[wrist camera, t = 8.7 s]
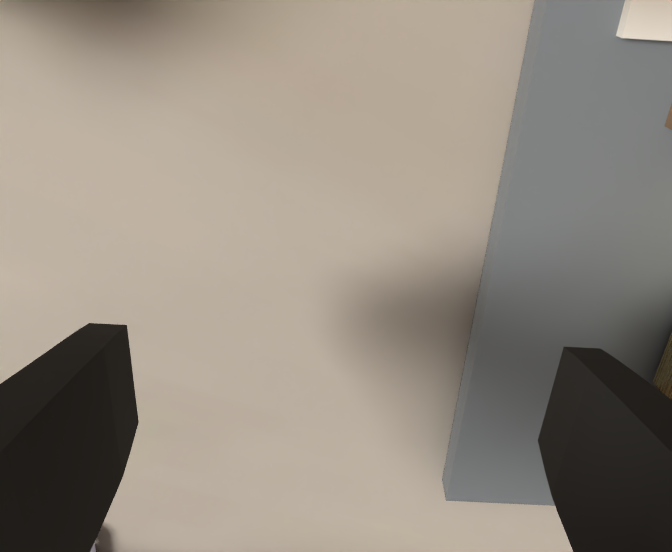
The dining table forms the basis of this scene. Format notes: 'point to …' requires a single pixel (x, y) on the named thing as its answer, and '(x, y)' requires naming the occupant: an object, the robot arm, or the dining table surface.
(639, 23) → the gauge housing
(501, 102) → the dining table surface
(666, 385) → the tan piece
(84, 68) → the dining table surface
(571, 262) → the mat
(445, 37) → the dining table surface
